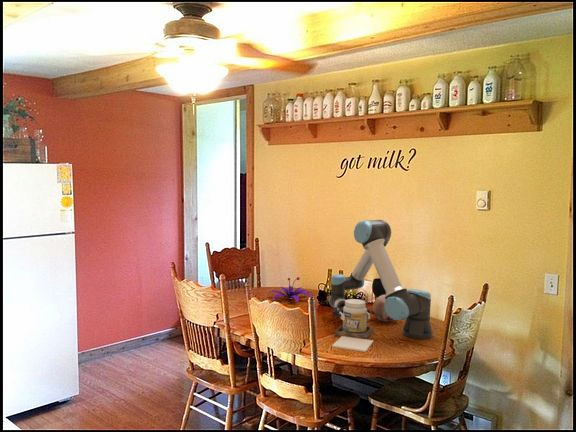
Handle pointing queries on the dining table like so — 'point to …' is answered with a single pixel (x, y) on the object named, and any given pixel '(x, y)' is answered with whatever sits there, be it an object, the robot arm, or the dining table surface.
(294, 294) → the decorative flower
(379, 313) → the ornament
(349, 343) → the off-white mat
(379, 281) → the wine glass
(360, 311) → the supplement tub
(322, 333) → the dining table surface
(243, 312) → the dining table surface
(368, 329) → the walnut collar
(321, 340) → the dining table surface
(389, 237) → the robot arm
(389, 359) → the dining table surface
